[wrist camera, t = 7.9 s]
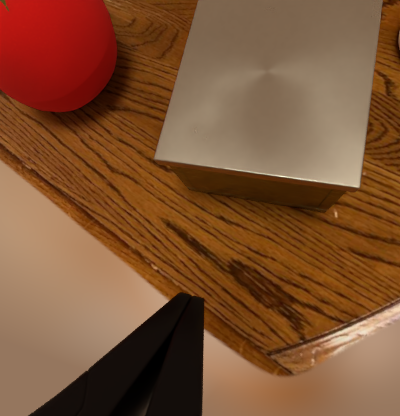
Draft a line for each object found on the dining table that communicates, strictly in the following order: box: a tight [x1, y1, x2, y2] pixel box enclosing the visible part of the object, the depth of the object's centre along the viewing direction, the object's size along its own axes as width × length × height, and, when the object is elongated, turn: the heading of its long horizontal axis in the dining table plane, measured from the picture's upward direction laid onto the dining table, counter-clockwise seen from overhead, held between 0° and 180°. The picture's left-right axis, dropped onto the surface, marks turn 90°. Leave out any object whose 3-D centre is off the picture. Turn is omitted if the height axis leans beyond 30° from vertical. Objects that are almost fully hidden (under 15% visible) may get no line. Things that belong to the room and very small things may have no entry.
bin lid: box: [154, 0, 383, 192], centre depth 17 cm, size 13×12×1 cm
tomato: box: [0, 0, 117, 112], centre depth 25 cm, size 13×14×12 cm
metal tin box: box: [170, 166, 346, 212], centre depth 21 cm, size 13×12×7 cm
